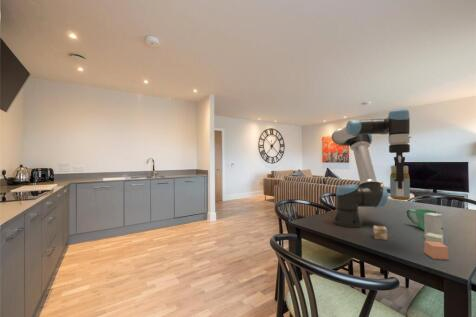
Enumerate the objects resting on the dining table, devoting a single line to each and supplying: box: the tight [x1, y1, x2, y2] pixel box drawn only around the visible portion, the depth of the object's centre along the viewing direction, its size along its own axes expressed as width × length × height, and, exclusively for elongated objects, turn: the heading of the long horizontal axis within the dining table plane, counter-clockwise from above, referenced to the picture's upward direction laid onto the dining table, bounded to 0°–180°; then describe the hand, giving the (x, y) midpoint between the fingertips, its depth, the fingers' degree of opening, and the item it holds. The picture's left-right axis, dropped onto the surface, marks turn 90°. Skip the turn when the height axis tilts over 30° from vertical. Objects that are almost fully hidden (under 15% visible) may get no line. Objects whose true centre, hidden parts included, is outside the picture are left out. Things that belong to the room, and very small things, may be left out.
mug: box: [406, 208, 440, 231], centre depth 116 cm, size 15×10×10 cm
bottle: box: [389, 165, 411, 201], centre depth 95 cm, size 7×7×15 cm
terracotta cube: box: [423, 240, 449, 260], centre depth 84 cm, size 5×5×5 cm
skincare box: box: [424, 212, 444, 239], centre depth 101 cm, size 6×4×12 cm
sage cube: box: [425, 233, 444, 245], centre depth 93 cm, size 5×5×5 cm
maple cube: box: [372, 225, 388, 241], centre depth 104 cm, size 5×5×5 cm
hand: (399, 194), depth 95 cm, fingers closed on bottle, 6 cm apart
